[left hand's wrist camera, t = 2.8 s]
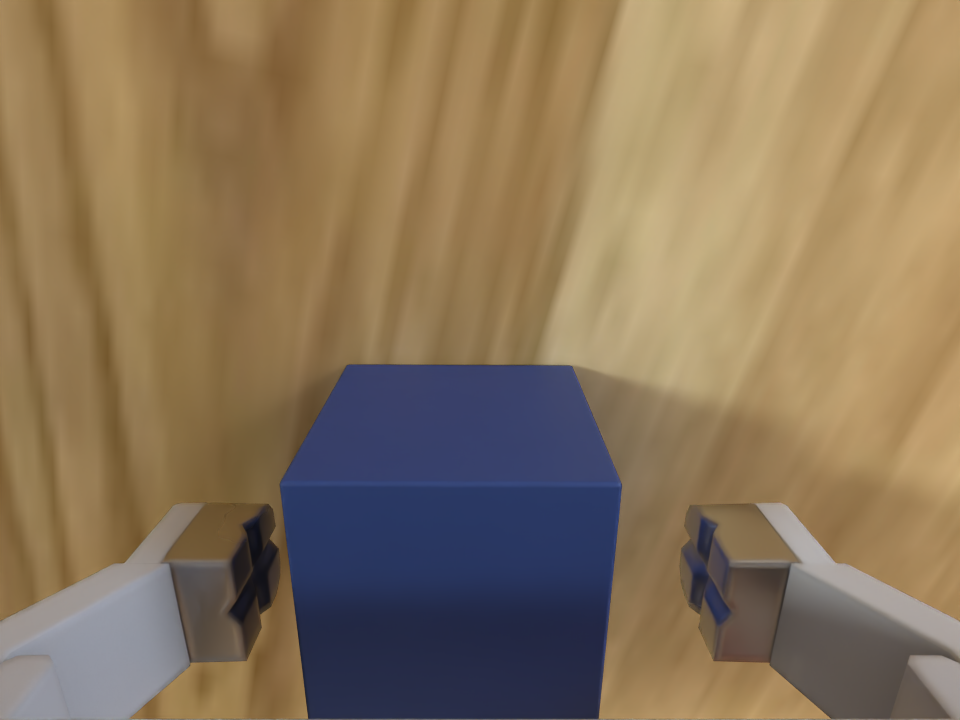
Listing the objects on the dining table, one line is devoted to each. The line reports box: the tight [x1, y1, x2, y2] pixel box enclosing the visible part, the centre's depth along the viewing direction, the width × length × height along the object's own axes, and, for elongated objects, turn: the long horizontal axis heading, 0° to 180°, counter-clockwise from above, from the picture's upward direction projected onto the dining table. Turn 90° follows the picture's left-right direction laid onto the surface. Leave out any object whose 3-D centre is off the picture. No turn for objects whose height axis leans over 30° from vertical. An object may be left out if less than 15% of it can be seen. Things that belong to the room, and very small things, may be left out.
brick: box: [280, 365, 622, 719], centre depth 10 cm, size 4×5×4 cm
